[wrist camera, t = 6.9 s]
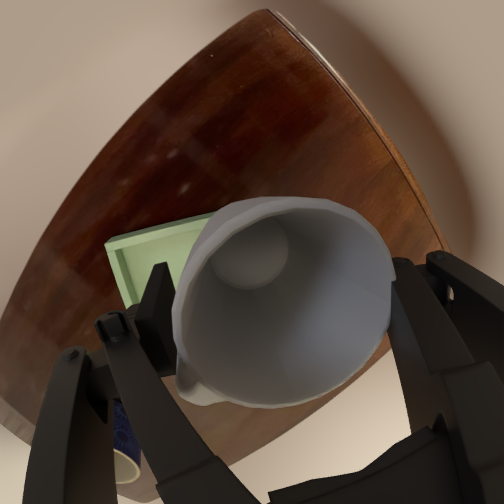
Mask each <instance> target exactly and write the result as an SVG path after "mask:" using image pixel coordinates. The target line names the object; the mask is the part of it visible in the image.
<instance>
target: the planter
mask: <svg viewBox="0 0 504 504" xmlns="http://www.w3.org/2000/svg"><path fill="white" fill-rule="evenodd" d="M113 401H114V411H113V434H114V464H115V479H116V484H123V483H129V482H133V481H135V480H136V479H137V478H138V477H139V476H140V464H141V447H140V445H139V443H138V440H137V438H136V436H135V434H134V431H133V429H132V427H131V424H130V422H129V419H128V417H127V414H126V412H125V409H124V407H123V404H121V403H120V402H118V401H115V400H113Z"/></svg>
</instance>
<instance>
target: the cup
mask: <svg viewBox="0 0 504 504" xmlns="http://www.w3.org/2000/svg"><path fill="white" fill-rule="evenodd" d="M395 280H396V274H395V270H394V266H393V262H392V258H391V255H390V252H389V249H388V248H387V246H386V244H385V243H384V241H383V239H382V238H381V236H380V235H379V233H378V231H377V230H376V228H375V227H374V226H372V225H371V224H370V223H369V222H368V221H367V220H366V219H364V218H363V217H362V216H361V215H360V214H358V213H357V212H356V211H355V210H352V209H350V208H348V207H345V206H343V205H340V204H338V203H335V202H333V201H330V200H328V199H318V198H305V197H258V198H253V199H247V200H242V201H238V202H234V203H231V204H229V205H227V206H225V207H223V208H221V209H219V210H218V211H217V212H216V213H215V214H214V215H213V216H212V217H211V218H210V219H209V220H208V222H207V223H206V225H205V226H204V228H203V230H202V231H201V233H200V235H199V236H198V238H197V239H196V241H195V243H194V244H193V246H192V249H191V251H190V253H189V256H188V258H187V261H186V263H185V266H184V269H183V271H182V274H181V276H180V279H179V283H178V287H177V290H176V294H175V298H174V302H173V306H172V325H173V339H174V342H175V344H176V347H177V349H178V355H177V366H176V375H174V381H175V387H176V390H177V392H178V394H179V396H180V397H182V398H183V399H185V400H187V401H189V402H191V403H194V404H197V405H200V406H205V405H209V404H212V403H216V402H222V401H230V402H233V403H236V404H239V405H243V406H246V407H255V408H269V409H273V408H281V407H288V406H295V405H299V404H302V403H305V402H308V401H311V400H313V399H316V398H319V397H321V396H323V395H325V394H327V393H328V392H330V391H332V390H334V389H335V388H337V387H339V386H341V385H342V384H343V383H345V382H346V381H347V380H348V379H349V378H351V377H352V376H353V375H354V374H355V373H356V372H358V371H359V370H360V369H361V368H362V367H363V366H364V365H365V363H366V362H367V361H368V360H369V358H370V357H371V356H372V355H373V353H374V352H375V351H376V350H377V348H378V346H379V345H380V343H381V341H382V339H383V337H384V335H385V333H386V331H387V329H388V327H389V325H390V316H391V281H395ZM195 378H196V381H195Z"/></svg>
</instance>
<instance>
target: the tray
mask: <svg viewBox="0 0 504 504" xmlns="http://www.w3.org/2000/svg"><path fill="white" fill-rule="evenodd" d="M216 212H217V211H216ZM216 212H212V213H207V214H203V215H199V216H194V217H190V218H186V219H182V220H178V221H173V222H169V223H165V224H161V225H157V226H153V227H149V228H146V229H142V230H138V231H134V232H130V233H126V234H123V235H119V236H115V237H112V238H110V239H109V240H108V241H107V242H106V243H105V248H106V251H107V254H108V257H109V261H110V264H111V267H112V270H113V273H114V276H115V279H116V282H117V284H118V287H119V290H120V293H121V296H122V298H123V301H124V304H125V306H126V309H127V308H128V307H130V306H131V305H133V304H137V303H140V301H141V298H142V295H143V293H144V290H145V287H146V285H147V282H148V279H149V277H150V274H151V271H152V269H153V266H154V264H158V263H162V262H166V261H167V264H168V267H169V270H170V274H171V277H172V280H173V284H174V287H175V290H177V287H178V283H179V279H180V276H181V274H182V271H183V269H184V266H185V263H186V261H187V258H188V256H189V253H190V251H191V249H192V246H193V244H194V243H195V241H196V239H197V238H198V236H199V235H200V233H201V231H202V230H203V228H204V226H205V225H206V223H207V222H208V220H209V219H210V218H211V217H212V216H213V215H214V214H215V213H216ZM177 351H178V349H177Z"/></svg>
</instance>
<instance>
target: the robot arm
mask: <svg viewBox="0 0 504 504" xmlns="http://www.w3.org/2000/svg"><path fill="white" fill-rule="evenodd" d="M392 262H393V266H394V270H395V274H396V280H395V281H391V316H390V325H389V327H388V329H387V333H388V336H389V340H390V343H391V347H392V351H393V354H394V358H395V362H396V366H397V369H398V374H399V378H400V382H401V386H402V390H403V395H404V399H405V403H406V408H407V413H408V418H409V423H410V429H411V435H410V436H408V437H407V438H405V439H403V440H401V441H399V442H398V443H395V444H394V445H393V446H392V447H391V448H389V449H388V450H387V451H386V452H384V453H383V454H382V455H381V456H379V457H378V458H377V459H376V460H374V461H373V462H372V463H370V464H369V465H368V466H367V467H365V468H364V469H362V470H360V471H358V472H354V473H349V474H343V475H338V476H332V477H326V478H319V479H312V480H309V481H305V482H303V483H299V484H296V485H293V486H289V487H286V488H282V489H278V490H274V491H271V492H268V495H269V498H270V502H269V503H267V504H504V286H503V285H502V284H500V283H499V282H497V281H495V280H494V279H492V278H490V277H489V276H487V275H486V274H484V273H483V272H481V271H479V270H478V269H476V268H474V267H473V266H471V265H469V264H467V263H466V262H464V261H462V260H461V259H459V258H457V257H455V256H454V255H452V254H450V253H448V252H444V251H441V250H437V251H434V252H430V253H428V254H427V255H426V264H421V265H414V264H413V263H412V261H410V260H409V259H407V258H401V257H395V258H392ZM451 288H452V290H453V293H454V299H453V300H451V299H450V289H451ZM175 294H176V290H175V287H174V284H173V280H172V277H171V274H170V270H169V267H168V264H167V261H166V262H162V263H158V264H154V266H153V269H152V271H151V274H150V277H149V279H148V282H147V285H146V287H145V290H144V293H143V295H142V298H141V301H140V303H137V304H133V305H131V306H130V307H128V308H127V309H126V310H125V311H123V310H113V311H110V312H107V313H105V314H103V315H101V316H100V317H98V318H97V319H96V320H95V322H94V326H95V328H96V330H97V332H98V335H99V337H100V339H101V341H102V343H103V346H104V348H102V349H100V350H97V351H95V352H92V353H89V354H88V353H87V351H86V349H85V348H84V347H83V346H79V345H78V346H73V347H68V348H67V349H65V350H63V352H62V353H61V354H60V355H59V356H58V358H57V361H56V363H55V366H54V369H53V372H52V375H51V378H50V381H49V384H48V387H47V390H46V393H45V397H44V400H43V403H42V407H41V410H40V414H39V417H38V421H37V425H36V429H35V433H34V437H33V442H32V446H31V451H30V456H29V461H28V466H27V472H26V479H25V485H24V492H23V501H22V504H118V501H117V491H116V479H115V464H114V434H113V411H114V401H113V398H116V397H118V396H120V399H121V401H122V404H123V407H124V409H125V412H126V414H127V417H128V419H129V422H130V424H131V427H132V429H133V431H134V434H135V436H136V438H137V440H138V443H139V445H140V447H141V449H142V451H143V453H144V456H145V458H146V460H147V462H148V464H149V466H150V468H151V470H152V472H153V474H154V476H155V477H156V480H157V482H158V484H156V489H157V491H158V493H159V495H160V497H161V499H162V501H163V502H164V504H261V503H260V502H259V501H258V500H257V499H256V498H255V497H254V496H253V495H252V493H251V492H250V491H249V490H248V489H247V488H246V487H245V486H244V485H243V484H242V483H241V482H240V480H239V479H238V478H237V477H236V476H235V475H234V474H233V472H232V471H231V470H230V469H229V468H228V467H227V465H226V464H225V463H224V462H223V461H222V460H221V459H220V458H219V457H218V456H215V455H214V454H213V452H212V451H211V450H210V449H209V447H208V446H207V445H206V444H205V442H204V441H203V440H202V438H201V437H200V436H199V434H198V433H197V432H196V430H195V429H194V428H193V426H192V425H191V423H190V422H189V421H188V419H187V418H186V416H185V415H184V413H183V412H182V411H181V409H180V408H179V406H178V405H177V403H176V402H175V400H174V399H173V397H172V396H171V394H170V393H169V391H168V390H167V388H166V386H165V385H164V383H163V382H162V380H161V378H160V377H165V376H171V375H176V366H177V347H176V344H175V342H174V339H173V325H172V306H173V302H174V298H175Z"/></svg>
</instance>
